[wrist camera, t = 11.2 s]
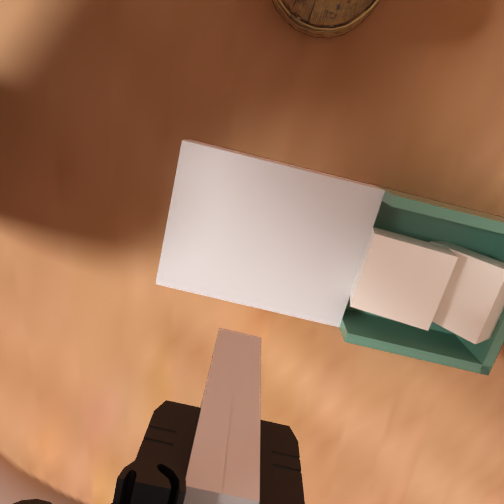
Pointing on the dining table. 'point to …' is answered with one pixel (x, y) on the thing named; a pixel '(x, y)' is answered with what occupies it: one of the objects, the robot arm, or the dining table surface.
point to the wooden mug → (324, 15)
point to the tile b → (471, 295)
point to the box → (436, 338)
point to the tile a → (402, 278)
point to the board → (265, 232)
